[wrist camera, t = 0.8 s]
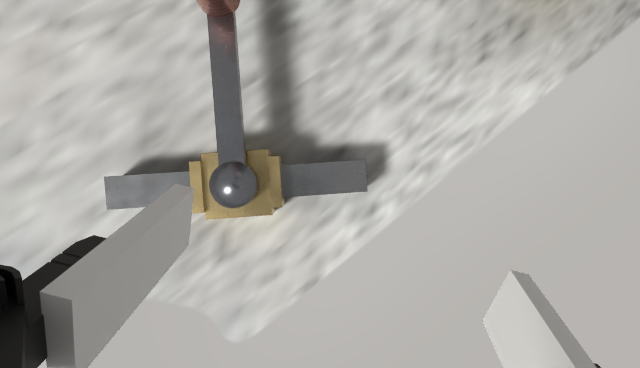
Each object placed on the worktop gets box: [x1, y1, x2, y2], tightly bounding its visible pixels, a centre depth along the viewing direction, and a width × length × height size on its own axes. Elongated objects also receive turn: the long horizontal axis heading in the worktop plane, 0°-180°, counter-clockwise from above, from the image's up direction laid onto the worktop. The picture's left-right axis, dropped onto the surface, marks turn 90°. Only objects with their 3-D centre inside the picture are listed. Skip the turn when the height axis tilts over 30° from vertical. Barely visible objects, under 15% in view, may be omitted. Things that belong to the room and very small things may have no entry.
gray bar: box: [104, 149, 367, 220], centre depth 34 cm, size 6×24×4 cm, turn 94°
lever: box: [197, 0, 258, 208], centre depth 26 cm, size 20×4×11 cm, turn 4°
